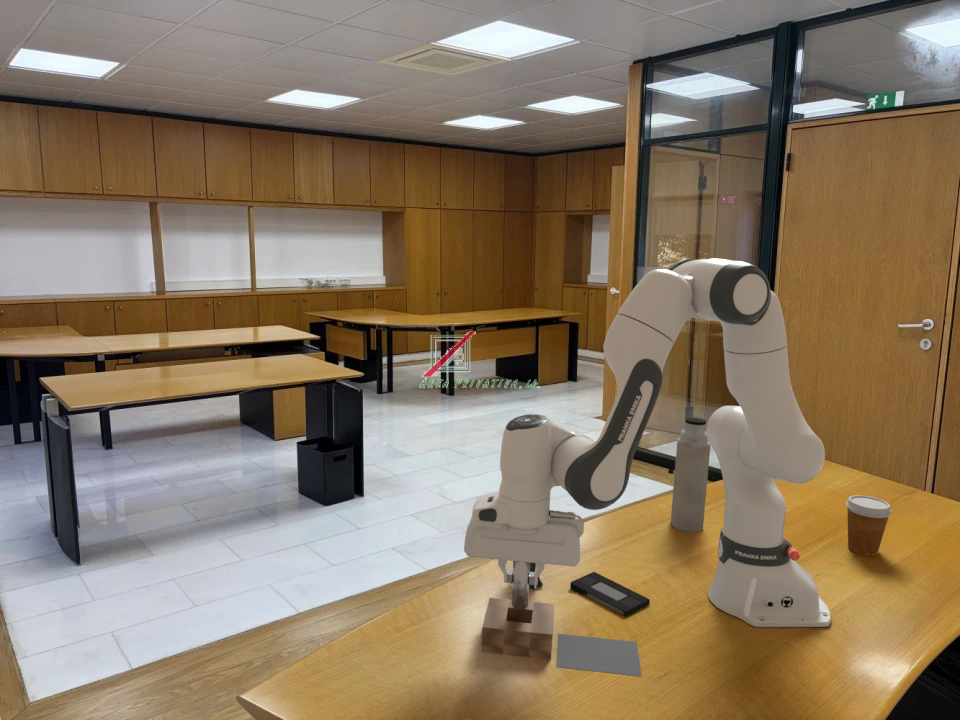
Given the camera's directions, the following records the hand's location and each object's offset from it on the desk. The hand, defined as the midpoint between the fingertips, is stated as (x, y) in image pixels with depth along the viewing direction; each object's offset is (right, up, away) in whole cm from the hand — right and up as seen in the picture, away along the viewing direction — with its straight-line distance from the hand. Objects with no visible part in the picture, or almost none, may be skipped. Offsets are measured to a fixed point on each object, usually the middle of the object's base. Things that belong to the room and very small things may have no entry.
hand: (520, 582), depth 121 cm
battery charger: (+4, -8, +23) cm, 25 cm away
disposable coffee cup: (+84, -6, +43) cm, 95 cm away
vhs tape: (+19, -10, +18) cm, 28 cm away
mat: (+13, -12, -2) cm, 18 cm away
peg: (0, -4, +1) cm, 4 cm away
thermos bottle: (+46, -3, +55) cm, 71 cm away
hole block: (0, -11, +2) cm, 11 cm away
